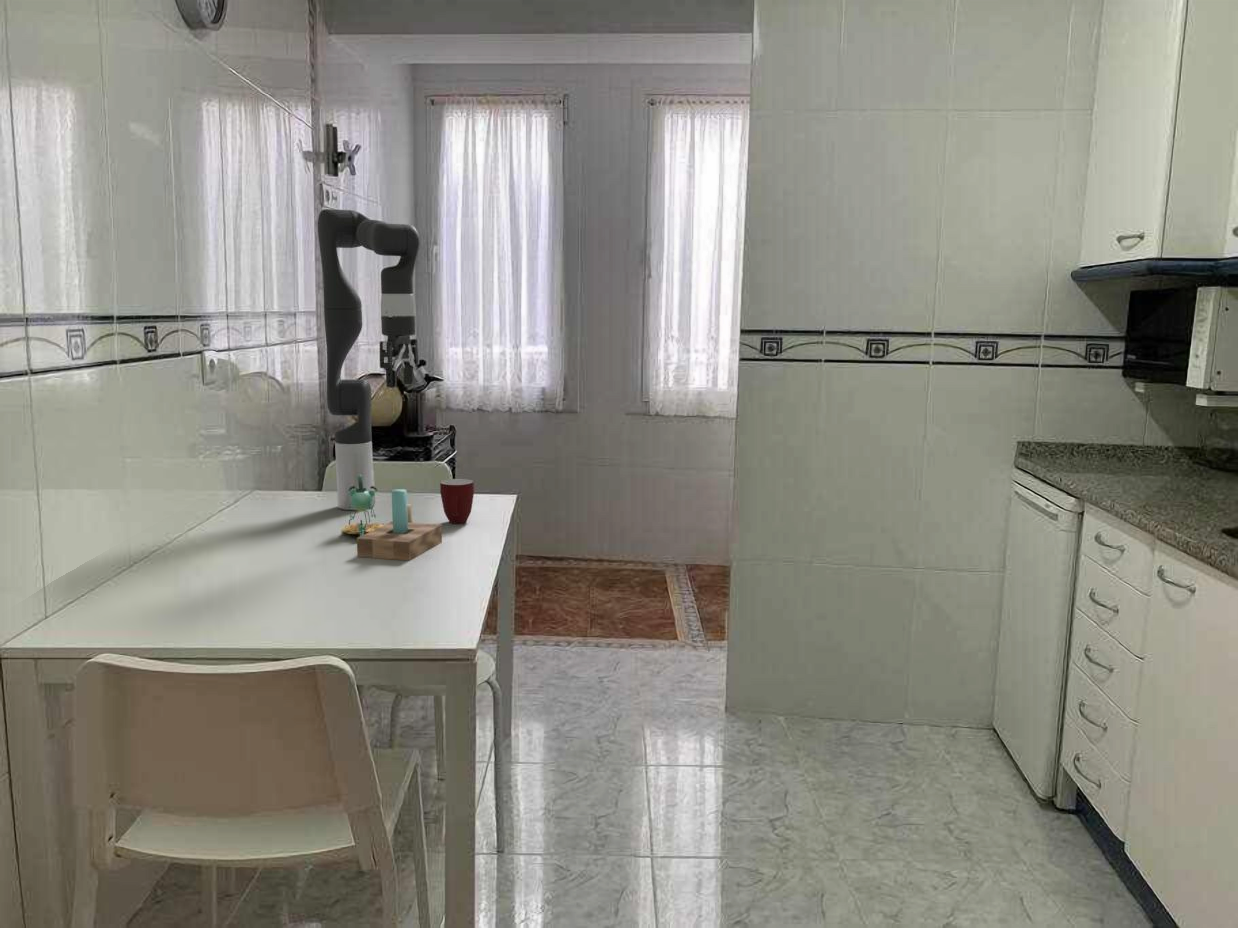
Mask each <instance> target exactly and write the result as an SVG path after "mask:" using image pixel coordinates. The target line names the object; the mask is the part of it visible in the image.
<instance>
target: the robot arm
mask: <svg viewBox="0 0 1238 928" xmlns="http://www.w3.org/2000/svg"><path fill="white" fill-rule="evenodd" d="M317 235H318V246H319V254H320V261H321V268H322V269H321V271H322V287H323V317H324V320H323V321H324V333H325V343H326V404H327V409H328V413H329V414H330V415H331V416H357V420H356V421H355V422H354V423H352V424H351V425H348V426H345V427H342V428H339V429H337V430H336V431H335V433H334V445H335V446H334V447H335V450H334V451H335V467H336V469H335V470H336V471H335V472H336V489H337V490H336V491H337V492H336V493H337V508H338V509H340V510H343V511H344V510H345V511H346V510H347V511H355V510H356V509H355V508H354V507H353V506H352V505H351V504H350V503H351V498H352V496H351V495H350V492H351V490H353V489H354V488H353V489H351V490H350V491H349V489H350V487H352V486H355V489H354V490H356V488H358V489H359V484H358V476H359V475H361V476H362V482H363V488H365V487H366V491H368V492H369V491H371V490H373V491H375V492H376V490H375V489H373V488H372V489H371V488H370V487H371V486H374V487H375V469H374V463H373V462H374V459H373V442H372V441H373V438H372V436H373V435H372V388H371V384H370V383H369V381H368V380H367V379H342V378H341V377H342V375H341V374H342V368H343V365H344V364H345V360H346V358H347V356H348V354H349V352H350V350H351V349H352V347H353V346H354V345H355V343H356V341H357V339H358V338H359V337H360V334H361V332H362V329H363V311H362V310H363V309H362V307H363V306H362V301H361V298H360V296H359V294H358V292H357V290H356V288H354V286H353V284H352V282H350V280H349V278H348V277H347V276H346V274H345V272H344V270H343V269H342V267H341V264H340V260H339V255H338V249H352V248H359V247H363V248H364V249H366V250H369V251H373V252H374V253H375V254H376V255H379V256H384V257H385V256H386V257H387V256H388V257H400V258H399V260H398V263H396V265H392V266H387V267H384V268H382V269H381V271H380V286H381V287H380V289H381V290H380V291H381V292H380V293H381V297H380V319H381V320H380V322H381V323H380V325H381V335H383V336H387V340H380V341H379V368H380V369H383V371H385V380H386V381H385V383H386V387H387V388H393V389H394V388H396V387H398V386H397V385H398V382H397V378H398V377H397V371H396V370H397V367H398V364H399V363H401V364H402V366H403V383H404V384H405V385H413V384H414V383H415V379H414V378H415V377H414V374H415V373H414V369H415V367H416V365H419V351H418V350H419V349H418V339H416V338H411V336H414V335H416V306H415V304H416V303H415V298H414V282H413V281H414V280H413V279H414V271H415V266H416V262H417V261H416V259H417V256H418V252H419V249H420V243H421V242H420V235H419V232H418V230H417V229H416V227H415V226H414V225H412V224H406V223H388V222H385V221H382V220H376V219H370V218H368V217H367V216H365V215H364V214H362V213H360V212H358V211H356V210H353V209H352V210H351V209H334V208H329V209H328V208H326V209H325V208H324V209H321V211H320V212H319V214H318V218H317ZM375 488H376V487H375ZM372 499H373V502H372V505H371V507H370V508H369V509H372V506H373V507H374V506H375V504H376V493H375V494H374V496H373V497H372ZM349 504H350V505H351V508H348V506H349ZM349 507H350V506H349Z"/></svg>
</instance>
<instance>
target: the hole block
mask: <svg viewBox="0 0 1238 928" xmlns="http://www.w3.org/2000/svg"><path fill="white" fill-rule="evenodd" d="M359 536H360V535H359ZM359 536H358V537H356V538H357V539H356V549H357V557H358V558H359V557H360V558H372V559H373V558H374V559H382V560H384V559H385V560H394V561H395V560H398V561H409V562H410V561H412V560H413V559H415V558H417V557H418V556H420V555H422V554H423V553H425V552H426V551H429V550H431V549H432V548H434V547H436V546H437V545H439V544H441V543H442V542H443V538H442V537H443V533H442V524H437V523H436V524H434V523H421V522H412V523H408V534H406V535H404V534H393V520H392V521H391V522H388V523H386V524H383V526H382V527H380V528H378V529H375V530H373V531H371V532H369V533H364V535H363V536H360V537H359Z"/></svg>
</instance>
